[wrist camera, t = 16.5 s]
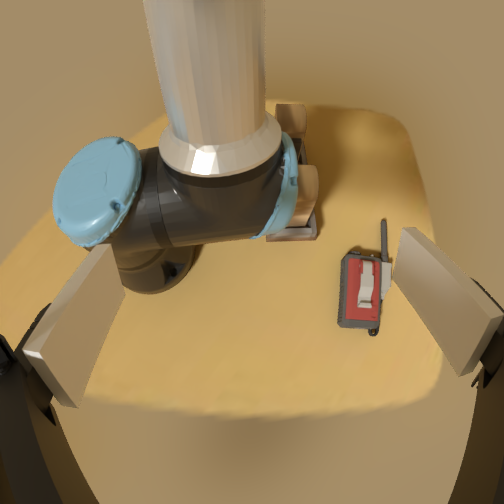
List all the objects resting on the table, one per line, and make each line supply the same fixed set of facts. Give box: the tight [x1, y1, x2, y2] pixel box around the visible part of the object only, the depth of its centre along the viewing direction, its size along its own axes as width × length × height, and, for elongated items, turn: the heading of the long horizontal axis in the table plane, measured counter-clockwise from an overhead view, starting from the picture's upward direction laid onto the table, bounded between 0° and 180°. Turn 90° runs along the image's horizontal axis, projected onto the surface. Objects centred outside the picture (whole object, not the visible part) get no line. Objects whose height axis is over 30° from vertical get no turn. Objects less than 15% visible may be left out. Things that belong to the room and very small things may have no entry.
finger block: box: [285, 165, 319, 229], centre depth 42 cm, size 4×6×12 cm
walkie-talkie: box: [337, 220, 392, 336], centre depth 45 cm, size 9×4×20 cm
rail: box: [266, 104, 317, 242], centre depth 44 cm, size 8×20×14 cm, turn 2°
